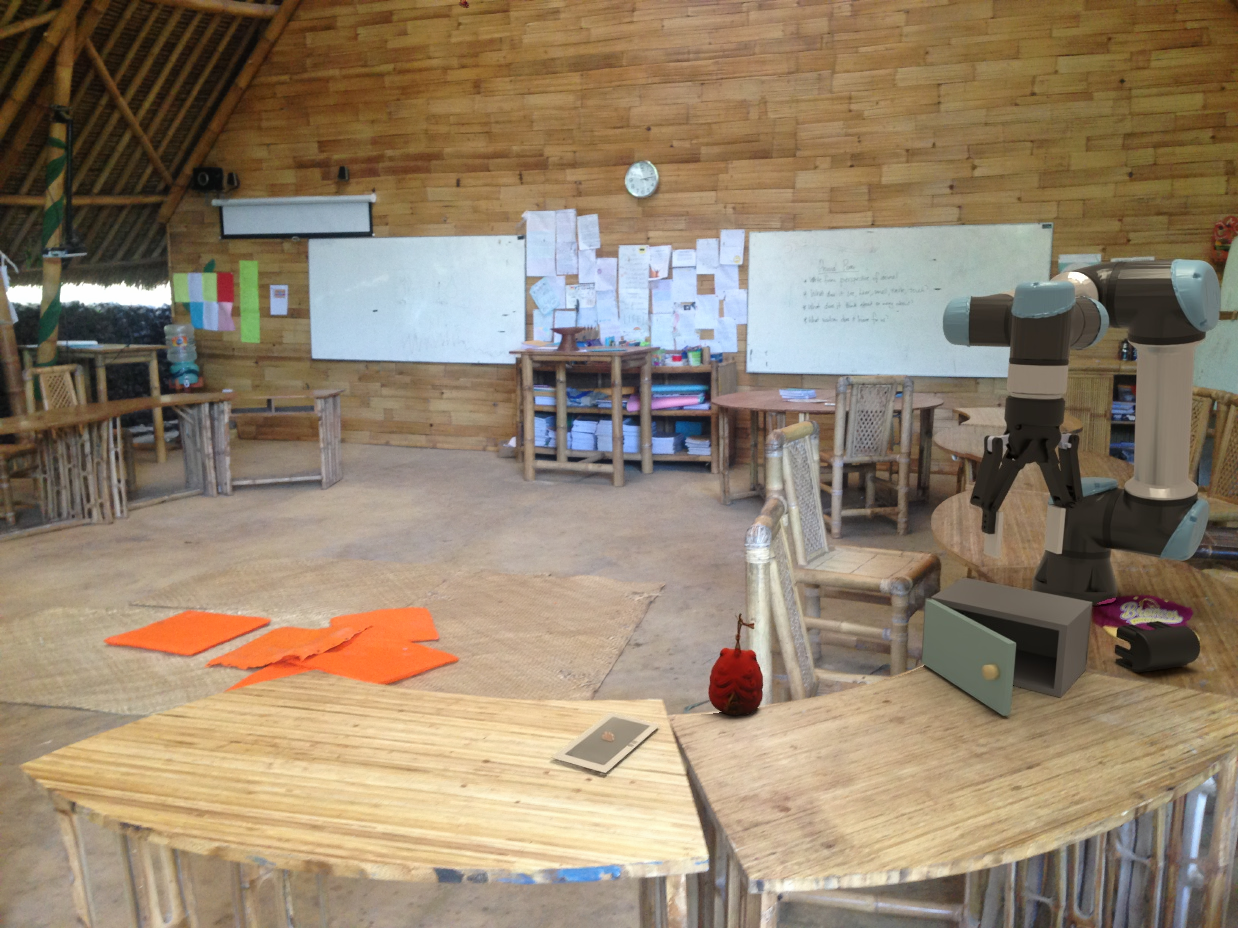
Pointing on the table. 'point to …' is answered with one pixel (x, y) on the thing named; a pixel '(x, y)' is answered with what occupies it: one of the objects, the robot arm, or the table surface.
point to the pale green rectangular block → (969, 655)
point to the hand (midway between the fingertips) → (1022, 553)
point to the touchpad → (606, 742)
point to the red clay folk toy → (736, 679)
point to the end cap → (1156, 647)
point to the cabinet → (1029, 630)
